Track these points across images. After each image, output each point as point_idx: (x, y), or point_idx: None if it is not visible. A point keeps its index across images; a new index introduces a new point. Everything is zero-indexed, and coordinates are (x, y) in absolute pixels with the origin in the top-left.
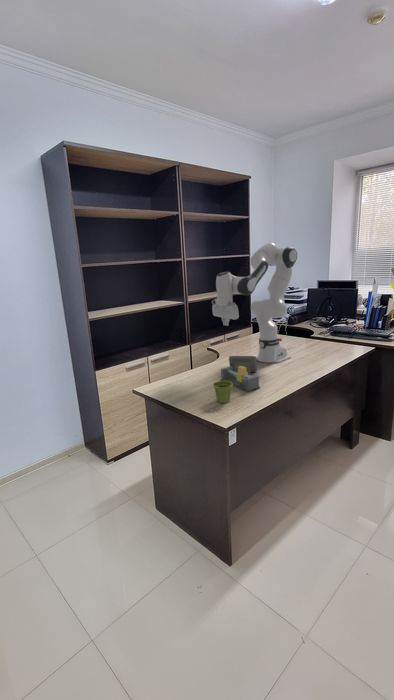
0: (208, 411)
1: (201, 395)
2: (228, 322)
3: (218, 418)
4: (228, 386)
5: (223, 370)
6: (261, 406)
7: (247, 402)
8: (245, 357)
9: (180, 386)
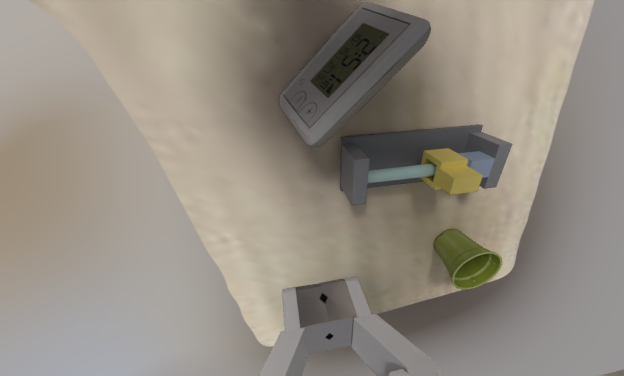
0: None
1: (388, 264)
2: (370, 313)
3: None
4: (472, 248)
5: (364, 200)
6: (533, 192)
7: (496, 205)
8: (385, 81)
9: (305, 283)
